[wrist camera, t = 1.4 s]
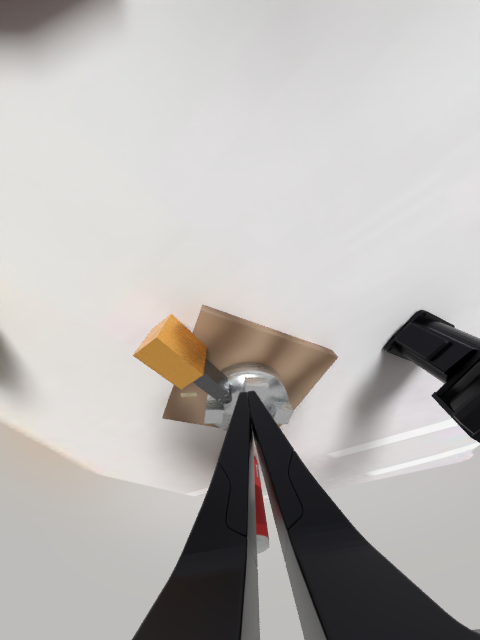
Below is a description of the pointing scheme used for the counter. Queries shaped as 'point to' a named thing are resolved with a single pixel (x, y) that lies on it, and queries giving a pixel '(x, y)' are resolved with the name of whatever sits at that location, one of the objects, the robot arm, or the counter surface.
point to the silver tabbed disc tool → (211, 373)
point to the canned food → (260, 514)
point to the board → (249, 360)
